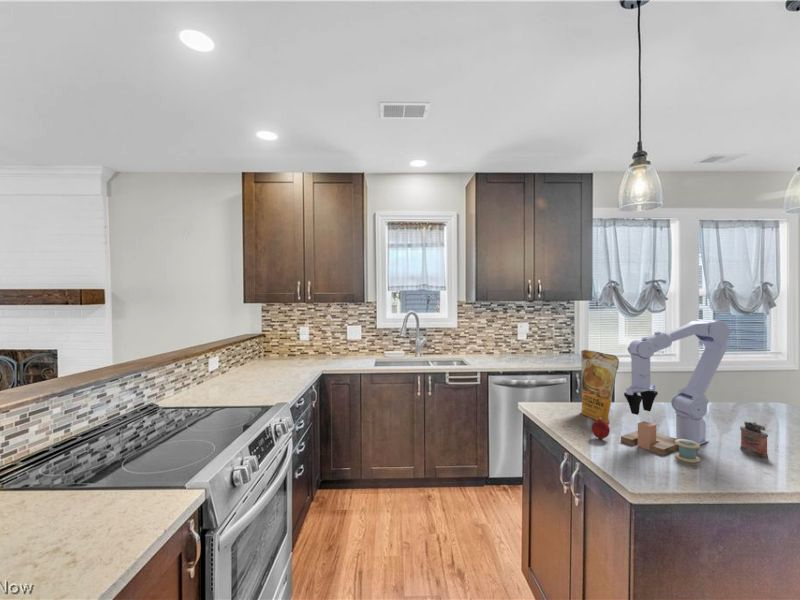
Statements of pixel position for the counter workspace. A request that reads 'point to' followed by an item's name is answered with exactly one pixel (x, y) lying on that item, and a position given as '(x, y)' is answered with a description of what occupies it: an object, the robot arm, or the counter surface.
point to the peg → (646, 434)
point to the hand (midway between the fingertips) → (641, 412)
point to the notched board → (661, 447)
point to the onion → (600, 429)
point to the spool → (687, 450)
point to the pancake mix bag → (597, 383)
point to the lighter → (754, 439)
